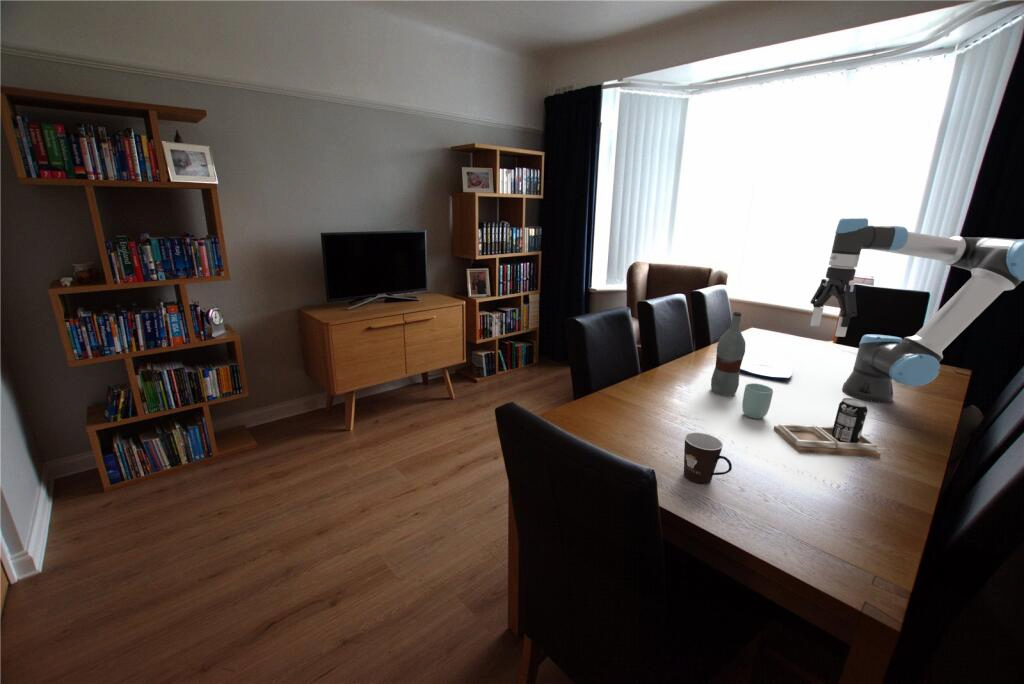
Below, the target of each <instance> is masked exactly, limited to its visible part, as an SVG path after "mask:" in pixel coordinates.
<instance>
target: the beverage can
mask: <svg viewBox="0 0 1024 684" xmlns="http://www.w3.org/2000/svg"><path fill="white" fill-rule="evenodd" d="M841 400H842V401H840V402H839V404H838V407H837V412H836V414H835V418H834V422H833V426H832V427H833V430H832V436H833V437H834V438H835V439H836V440H838V441H839V442H847V443H858V442H859V439H860V436H861V434H862V433H863V432H862V431H863V428H864V425H865V421H866V417H867V415H868V408H867V407H868V403H866V402H865V401H864V400H861V399H860V400H859V399H858V398H852V397H844V398H842V399H841Z"/></svg>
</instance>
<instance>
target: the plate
mask: <svg viewBox="0 0 1024 684" xmlns="http://www.w3.org/2000/svg"><path fill="white" fill-rule="evenodd" d="M739 372H742V373H745V374H748V375H749V376H750V375H751V376H754V377H758V378H763V379H764V378H765V379H769V380H788V379H790V378H791V377H792V376H793V369H792V365H790V364H781V363H780V364H779V363H774V362H767V361H763V360H757V359H754V358H750V357H745V356H744V357H743V360H742V364H741V367H740V371H739Z"/></svg>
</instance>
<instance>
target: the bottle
mask: <svg viewBox="0 0 1024 684" xmlns="http://www.w3.org/2000/svg"><path fill="white" fill-rule="evenodd" d="M732 314H733V315H732V318H731V324H730V327H729V328H728V329H727V330H726V331H725V332H724V333H723V334H722V335H721V336H720V338H719V340H718V342H717V346H716V355H715V356H716V357H715V367H714V370H713V373H712V377H711V379H710V389H711V392H712V393H713V394H716V395H719V396H723V397H734V396H735V395H736V393H737V391H738V390H739V388H738V387H739V385H740V372H741V371H740V367H741V364H742V360H743V357H745V354H746V341H745V338H744V336H743V333H742V332H741V329H740V324H741V317H742V312H740V311H733V313H732Z"/></svg>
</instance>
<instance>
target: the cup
mask: <svg viewBox="0 0 1024 684" xmlns="http://www.w3.org/2000/svg"><path fill="white" fill-rule="evenodd" d="M773 393H774V390H773V388H772V387H769V386H767V385H764V384H761V383H756V382H755V383H754V382H753V383H747V384H746V385H745V387H744V391H743V396H742V404H741V405H742V407H741V408H742V413H743V414H744V415H745V416H746V417H749V418H751V419H755V420H758V419H759V420H760V419H763V418H765V417H766V416H767V415H768V412H769V410H770V407H771V403H772V399H773Z"/></svg>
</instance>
